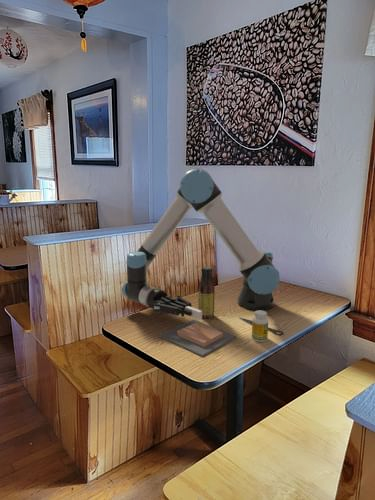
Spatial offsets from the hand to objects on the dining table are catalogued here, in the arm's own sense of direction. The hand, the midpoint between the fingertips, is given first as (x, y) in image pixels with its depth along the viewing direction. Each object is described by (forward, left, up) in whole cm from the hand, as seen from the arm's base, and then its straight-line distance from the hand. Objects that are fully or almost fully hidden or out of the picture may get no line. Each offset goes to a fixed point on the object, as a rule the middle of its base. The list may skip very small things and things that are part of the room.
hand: (200, 315), depth 123 cm
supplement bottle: (-20, +5, -9) cm, 22 cm away
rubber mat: (0, -1, -8) cm, 9 cm away
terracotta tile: (+3, -6, -7) cm, 9 cm away
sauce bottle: (-9, -18, -9) cm, 21 cm away
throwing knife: (-24, -4, -9) cm, 26 cm away
